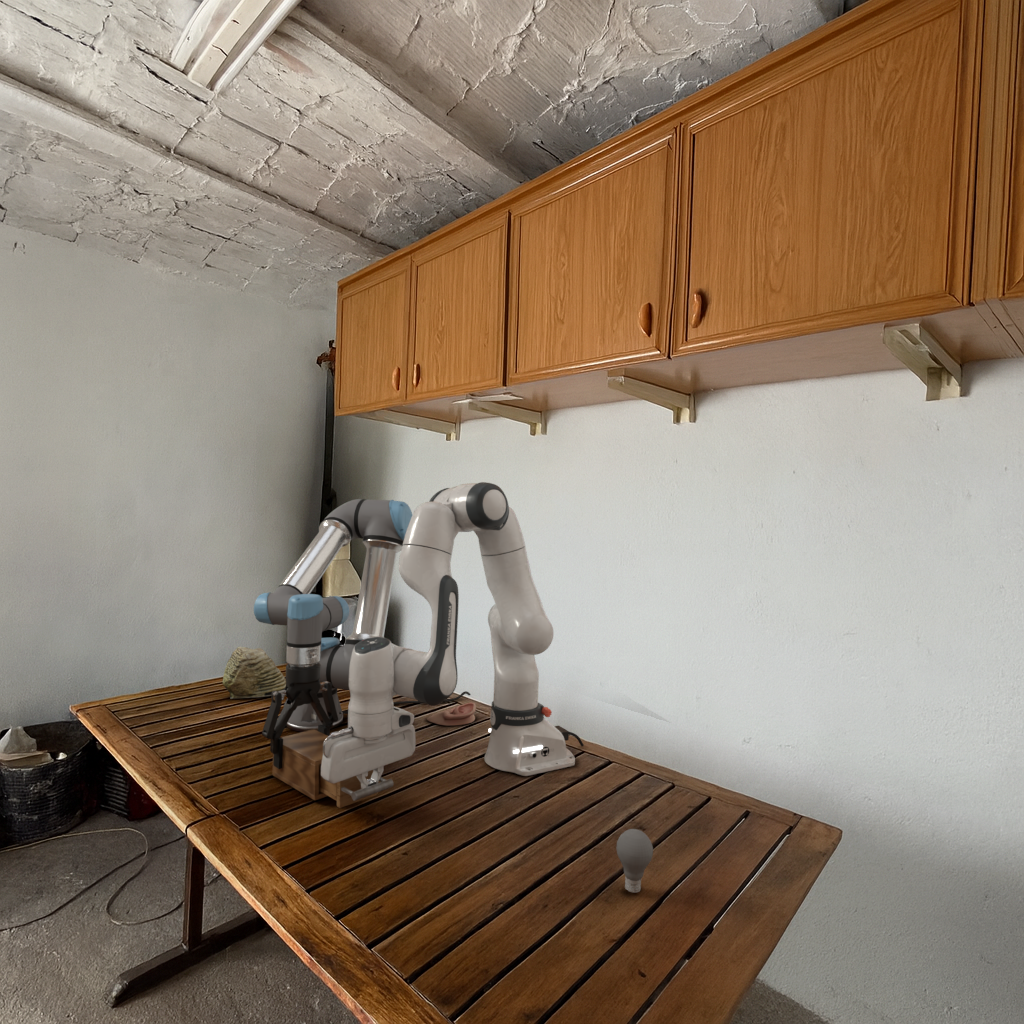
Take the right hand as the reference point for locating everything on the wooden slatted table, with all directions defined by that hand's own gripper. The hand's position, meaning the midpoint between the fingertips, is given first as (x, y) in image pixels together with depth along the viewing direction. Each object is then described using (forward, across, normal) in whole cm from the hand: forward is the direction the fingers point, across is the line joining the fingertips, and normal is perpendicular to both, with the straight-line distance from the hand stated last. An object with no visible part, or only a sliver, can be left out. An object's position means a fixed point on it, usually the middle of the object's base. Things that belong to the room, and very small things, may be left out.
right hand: (369, 790), depth 126 cm
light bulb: (+6, +18, -50) cm, 53 cm away
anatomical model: (+6, +49, +31) cm, 59 cm away
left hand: (+2, 0, +27) cm, 27 cm away
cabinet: (+5, 0, +21) cm, 21 cm away
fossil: (+5, +17, +87) cm, 89 cm away
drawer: (+3, 0, +9) cm, 9 cm away
